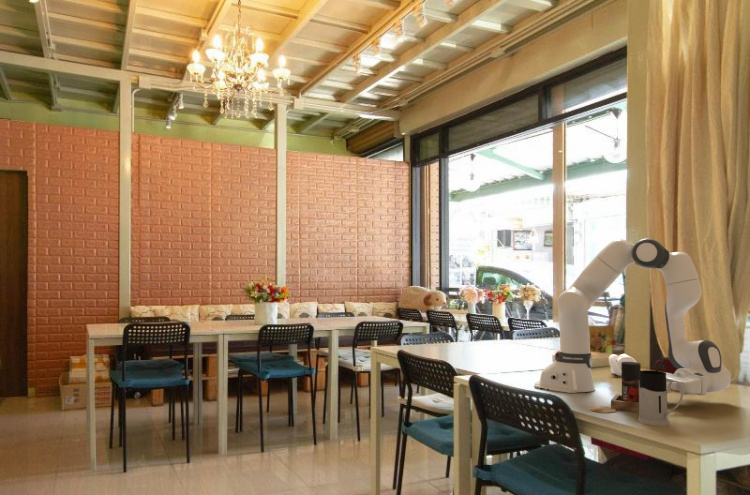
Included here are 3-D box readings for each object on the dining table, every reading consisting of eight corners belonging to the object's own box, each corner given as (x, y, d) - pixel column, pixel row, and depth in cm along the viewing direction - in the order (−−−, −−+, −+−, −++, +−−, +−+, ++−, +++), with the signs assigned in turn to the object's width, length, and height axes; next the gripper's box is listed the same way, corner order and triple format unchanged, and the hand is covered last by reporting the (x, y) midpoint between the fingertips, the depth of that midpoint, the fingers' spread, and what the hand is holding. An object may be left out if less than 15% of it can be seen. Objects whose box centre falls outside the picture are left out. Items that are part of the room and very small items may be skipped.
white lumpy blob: (602, 372, 266) (602, 352, 266) (630, 372, 266) (629, 352, 266) (612, 377, 255) (611, 356, 255) (640, 377, 254) (640, 356, 255)
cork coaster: (587, 411, 195) (587, 409, 195) (591, 406, 202) (591, 404, 202) (613, 414, 191) (613, 412, 191) (617, 409, 198) (617, 407, 198)
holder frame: (610, 409, 197) (610, 400, 197) (616, 402, 207) (615, 394, 207) (648, 413, 191) (648, 404, 191) (652, 406, 201) (651, 397, 201)
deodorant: (619, 408, 199) (618, 363, 200) (626, 405, 203) (625, 361, 204) (637, 411, 195) (636, 365, 195) (644, 408, 199) (643, 363, 199)
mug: (660, 388, 230) (660, 360, 230) (651, 384, 239) (651, 356, 239) (692, 389, 229) (691, 360, 230) (682, 384, 238) (681, 357, 238)
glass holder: (650, 416, 188) (649, 369, 188) (692, 427, 175) (691, 376, 176) (631, 420, 183) (630, 371, 184) (673, 431, 171) (672, 379, 171)
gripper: (664, 366, 215) (632, 368, 212) (709, 377, 195) (674, 379, 192) (664, 384, 215) (632, 386, 211) (710, 396, 195) (674, 398, 192)
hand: (652, 382), depth 202 cm, fingers open, 8 cm apart
